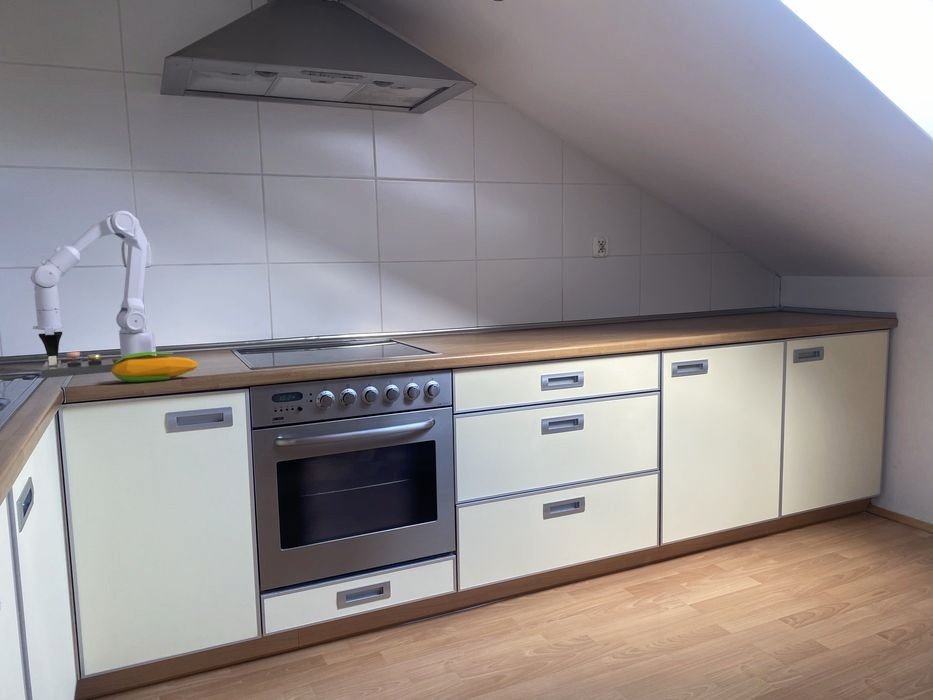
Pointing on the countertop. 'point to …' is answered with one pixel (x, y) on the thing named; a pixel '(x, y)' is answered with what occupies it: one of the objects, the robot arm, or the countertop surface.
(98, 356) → the brass button
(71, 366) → the panel
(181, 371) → the corn
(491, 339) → the countertop surface
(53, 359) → the slider knob
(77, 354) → the terracotta button
